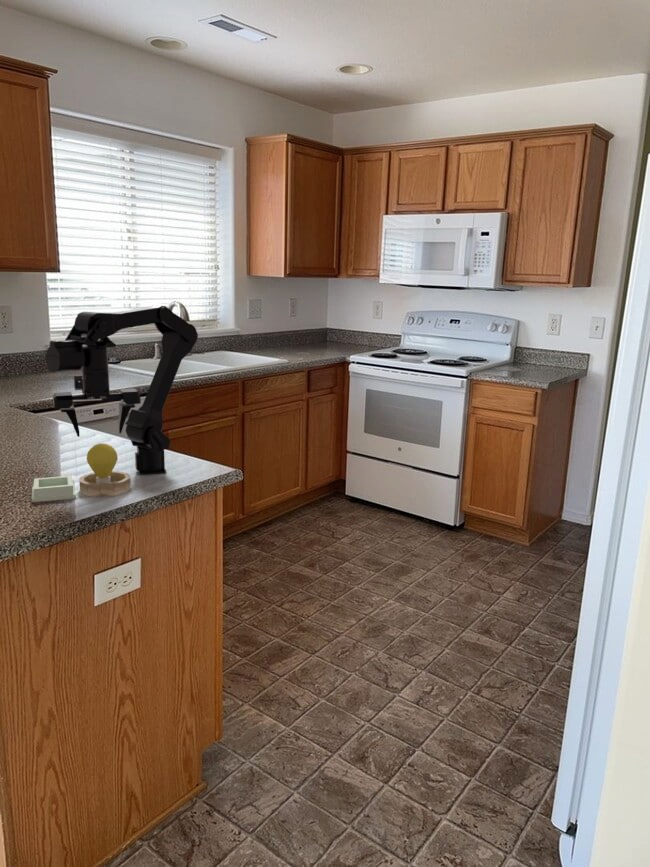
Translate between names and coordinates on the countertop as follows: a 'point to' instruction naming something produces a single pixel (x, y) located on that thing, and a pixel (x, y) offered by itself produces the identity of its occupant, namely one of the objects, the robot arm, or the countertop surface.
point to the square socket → (53, 489)
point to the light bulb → (102, 461)
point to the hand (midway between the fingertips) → (99, 434)
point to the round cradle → (105, 485)
